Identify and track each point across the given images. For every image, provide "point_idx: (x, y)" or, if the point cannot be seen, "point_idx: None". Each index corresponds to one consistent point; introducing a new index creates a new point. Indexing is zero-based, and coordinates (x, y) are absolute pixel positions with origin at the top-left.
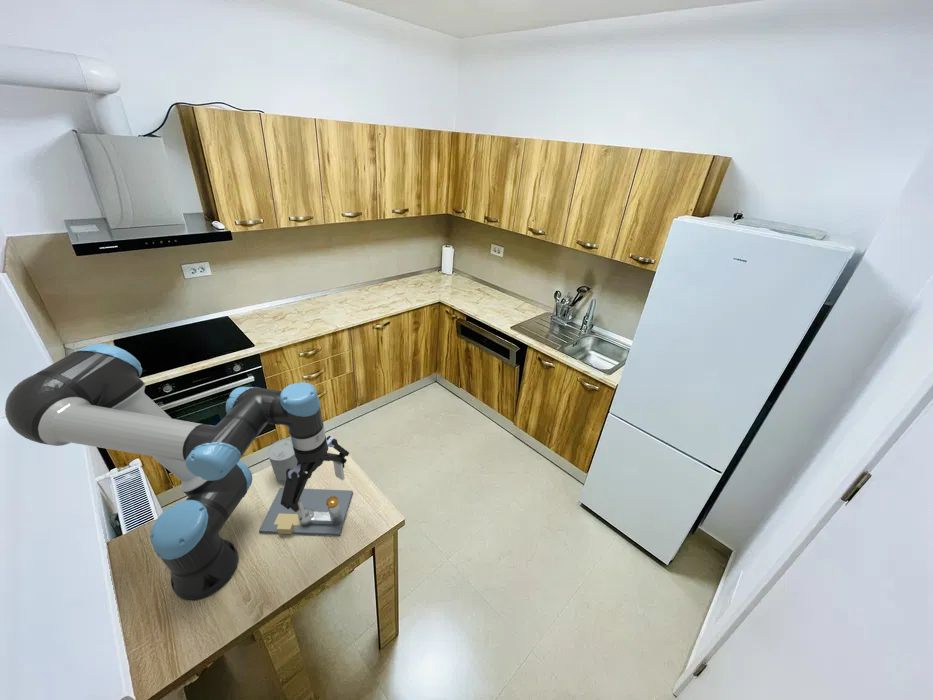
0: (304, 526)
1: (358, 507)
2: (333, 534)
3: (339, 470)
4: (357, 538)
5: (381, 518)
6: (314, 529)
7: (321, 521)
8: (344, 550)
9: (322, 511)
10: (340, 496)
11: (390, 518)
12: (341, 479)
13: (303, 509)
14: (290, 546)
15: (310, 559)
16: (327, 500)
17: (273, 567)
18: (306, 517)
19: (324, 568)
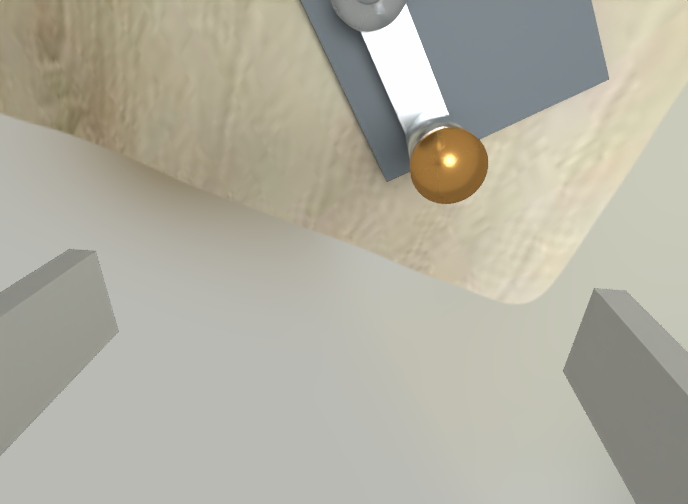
0: None
1: (530, 158)
2: (376, 156)
3: (657, 498)
4: (408, 239)
5: (515, 268)
6: (351, 68)
7: (385, 85)
8: (351, 227)
9: (441, 26)
10: (554, 45)
11: (527, 295)
12: (569, 361)
13: (39, 409)
14: (251, 21)
15: (263, 142)
16: (439, 136)
17: (161, 34)
18: (356, 6)
19: (270, 209)
